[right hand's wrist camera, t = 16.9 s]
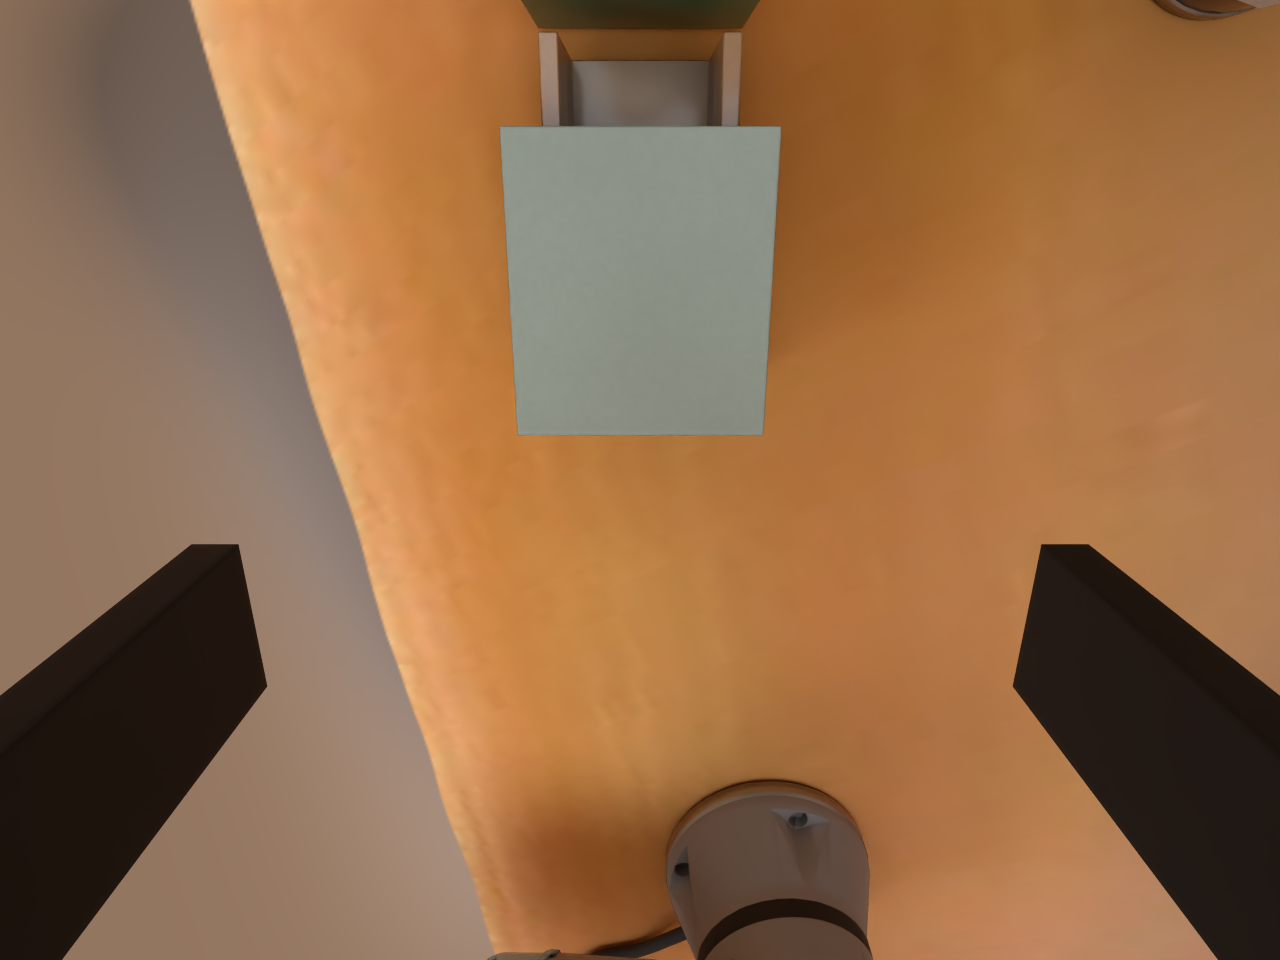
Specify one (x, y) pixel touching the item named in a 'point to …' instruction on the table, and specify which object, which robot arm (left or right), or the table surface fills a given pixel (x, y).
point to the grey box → (640, 277)
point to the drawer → (640, 66)
